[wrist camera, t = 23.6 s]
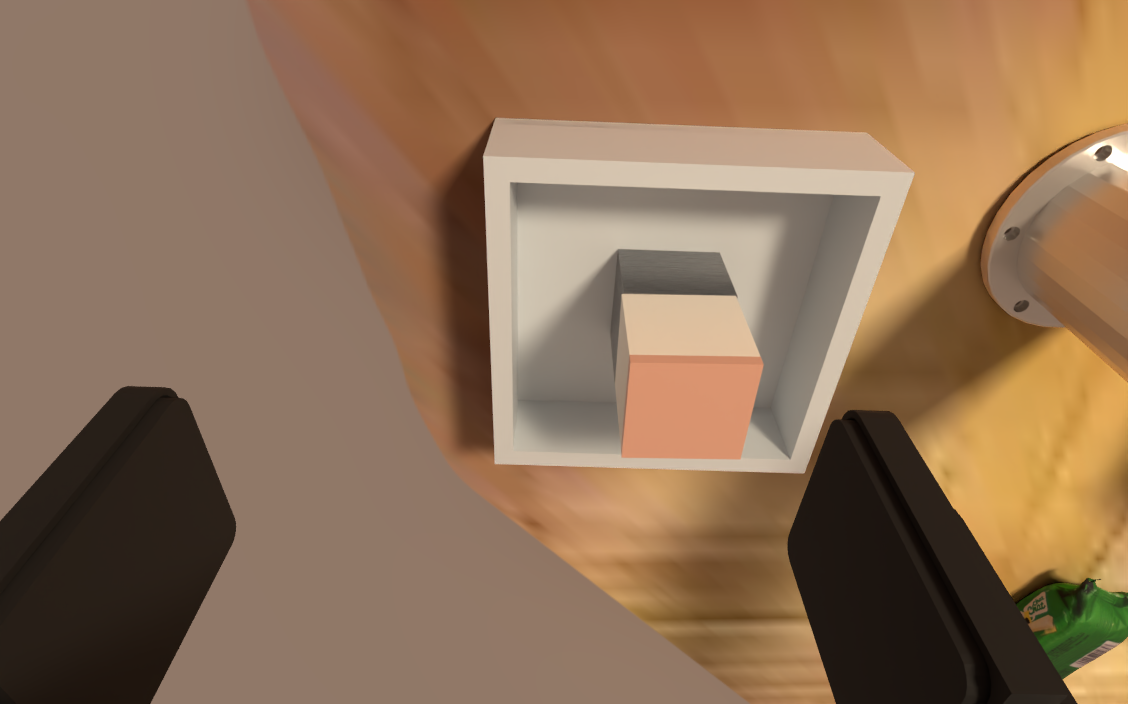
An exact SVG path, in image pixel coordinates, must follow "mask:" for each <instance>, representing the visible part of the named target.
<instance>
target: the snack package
mask: <svg viewBox="0 0 1128 704" xmlns="http://www.w3.org/2000/svg"><path fill="white" fill-rule="evenodd" d="M1098 580H1101V579H1098ZM1089 581H1091V582H1089ZM1095 581H1096V580H1093V579H1090V578H1087V579H1086V580H1085V581H1084V582H1083V583H1082V584H1081V585H1075V584H1070V583H1055V584H1051V585H1047V586H1045V587H1043V588H1040V589H1038V590H1037V591H1035V592H1033V593H1032V594H1030V595H1028V596H1027V597H1025V598H1024V599H1022V600H1021V601H1019V602H1018V603H1017V604H1016V606H1017V607H1018V609H1019V610H1020V612H1021V614H1022V615H1023V617H1024V618H1025V620H1026V622H1027V623H1028V625H1029V627H1030V628H1031V630H1032V631H1033V633H1034V635H1035V636H1036V638H1037V639H1038V641H1039V643H1040V644H1041V646H1042V647H1043V649H1044V651H1045V652H1046V654H1047V656H1048V657H1049V659H1050V660H1051V662H1052V664H1053V665H1054V667H1055V668H1056V670H1057V672H1058V673H1059V675H1060V676H1061V678H1062V679H1064V678H1065V677H1067V676H1068V675H1070V674H1071V673H1073V672H1074V671H1076V670H1077V669H1079V668H1081V667H1082V666H1084V665H1086V664H1087V663H1089V662H1091V661H1093V660H1095V659H1096V658H1098V657H1099V656H1101V655H1103V654H1104V653H1106V652H1108V651H1109V650H1111V649H1113V648H1114V647H1116V646H1117V645H1119V644H1120V643H1122V642H1123V641H1124V640H1125V639H1126V638H1127V637H1128V593H1125V592H1108V591H1106V590H1103V589H1101V588H1099V587H1097V586H1096V584H1095Z"/></svg>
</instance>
